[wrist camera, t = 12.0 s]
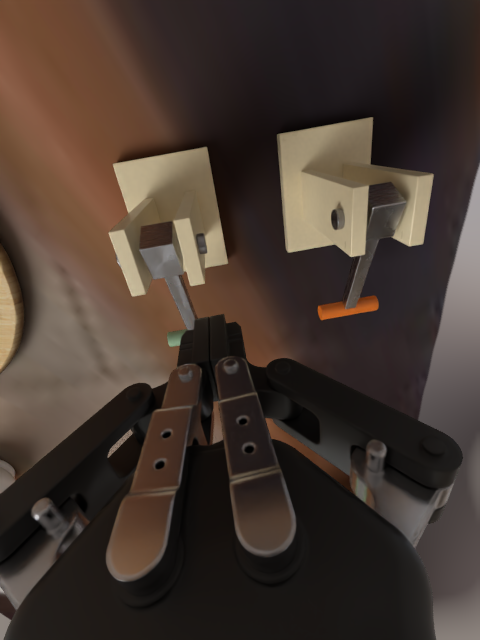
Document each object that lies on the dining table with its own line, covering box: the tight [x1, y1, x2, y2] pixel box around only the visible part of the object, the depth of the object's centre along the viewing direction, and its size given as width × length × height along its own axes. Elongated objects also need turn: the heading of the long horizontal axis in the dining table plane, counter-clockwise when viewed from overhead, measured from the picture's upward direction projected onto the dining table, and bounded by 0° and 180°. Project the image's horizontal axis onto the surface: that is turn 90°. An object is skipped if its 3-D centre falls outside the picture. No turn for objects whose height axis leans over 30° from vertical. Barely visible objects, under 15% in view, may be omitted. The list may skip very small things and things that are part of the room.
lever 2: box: [318, 182, 407, 320], centre depth 26 cm, size 13×6×2 cm, turn 9°
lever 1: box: [139, 221, 198, 347], centre depth 25 cm, size 13×6×2 cm, turn 9°
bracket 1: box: [109, 147, 228, 296], centre depth 25 cm, size 11×8×13 cm
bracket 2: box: [277, 117, 434, 257], centre depth 25 cm, size 11×8×13 cm
